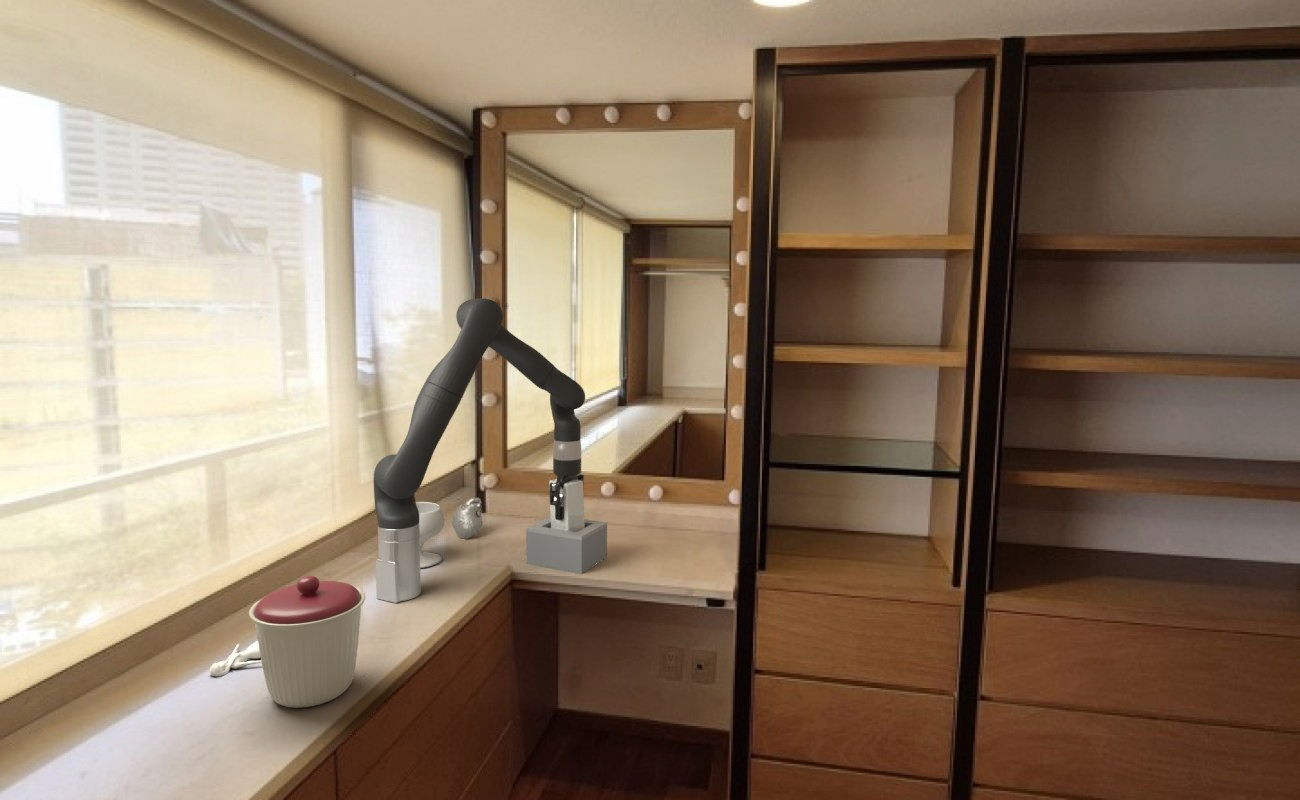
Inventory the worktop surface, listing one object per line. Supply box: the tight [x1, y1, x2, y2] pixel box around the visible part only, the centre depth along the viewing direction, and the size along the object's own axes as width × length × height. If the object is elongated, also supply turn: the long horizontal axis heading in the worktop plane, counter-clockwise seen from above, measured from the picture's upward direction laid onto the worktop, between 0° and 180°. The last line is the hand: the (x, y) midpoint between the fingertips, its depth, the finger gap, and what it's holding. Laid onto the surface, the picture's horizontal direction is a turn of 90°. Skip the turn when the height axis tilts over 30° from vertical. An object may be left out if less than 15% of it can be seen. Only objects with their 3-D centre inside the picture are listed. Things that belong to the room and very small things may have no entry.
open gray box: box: [525, 515, 608, 575], centre depth 192 cm, size 14×17×10 cm
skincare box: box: [548, 478, 585, 532], centre depth 191 cm, size 8×6×15 cm
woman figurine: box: [209, 640, 262, 677], centre depth 136 cm, size 12×4×18 cm
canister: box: [248, 575, 366, 709], centre depth 123 cm, size 18×18×21 cm
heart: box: [451, 497, 483, 540], centre depth 212 cm, size 10×10×12 cm
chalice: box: [415, 501, 445, 569], centre depth 189 cm, size 14×14×15 cm
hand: (567, 516), depth 191 cm, fingers closed on skincare box, 7 cm apart
